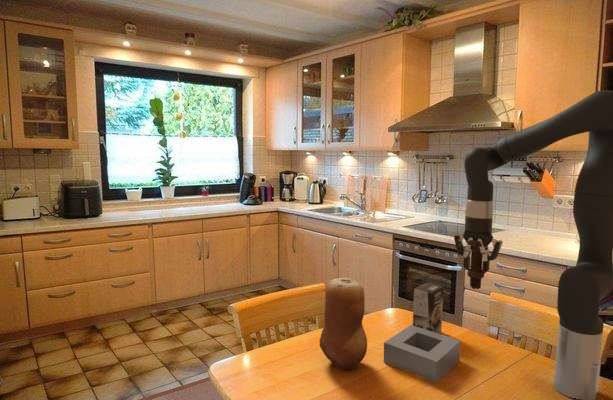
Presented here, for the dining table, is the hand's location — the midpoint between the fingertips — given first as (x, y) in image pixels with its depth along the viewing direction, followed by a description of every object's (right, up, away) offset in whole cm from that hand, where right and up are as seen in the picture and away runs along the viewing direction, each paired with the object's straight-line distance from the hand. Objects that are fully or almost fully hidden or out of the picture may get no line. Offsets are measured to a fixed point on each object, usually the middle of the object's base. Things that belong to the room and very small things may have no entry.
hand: (475, 270), depth 125 cm
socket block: (-17, -26, -4) cm, 31 cm away
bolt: (0, -6, +1) cm, 6 cm away
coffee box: (-11, -24, +14) cm, 30 cm away
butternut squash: (-41, -26, -6) cm, 49 cm away
